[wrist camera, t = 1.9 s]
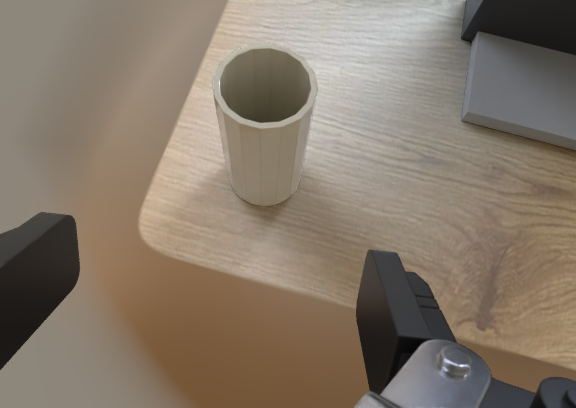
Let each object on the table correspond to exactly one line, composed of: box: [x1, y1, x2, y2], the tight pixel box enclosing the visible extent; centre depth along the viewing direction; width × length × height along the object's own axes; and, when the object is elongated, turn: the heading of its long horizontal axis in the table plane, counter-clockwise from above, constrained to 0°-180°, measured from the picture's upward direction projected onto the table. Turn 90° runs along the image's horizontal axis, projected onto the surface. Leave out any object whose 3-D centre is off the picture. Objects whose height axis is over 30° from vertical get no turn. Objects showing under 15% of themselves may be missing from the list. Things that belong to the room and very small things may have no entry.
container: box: [213, 43, 318, 206], centre depth 26 cm, size 5×5×10 cm
